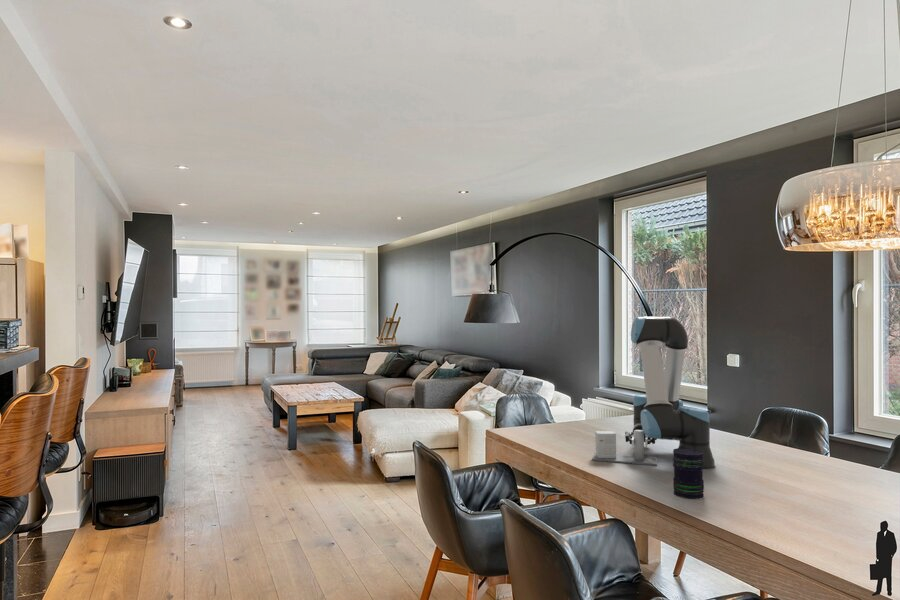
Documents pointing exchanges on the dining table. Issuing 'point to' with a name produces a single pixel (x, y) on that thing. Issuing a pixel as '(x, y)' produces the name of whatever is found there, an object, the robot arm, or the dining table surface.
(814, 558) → the dining table surface
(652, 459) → the base plate with uprights
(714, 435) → the dining table surface
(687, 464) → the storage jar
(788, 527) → the dining table surface
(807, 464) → the dining table surface
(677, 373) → the robot arm
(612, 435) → the small box
